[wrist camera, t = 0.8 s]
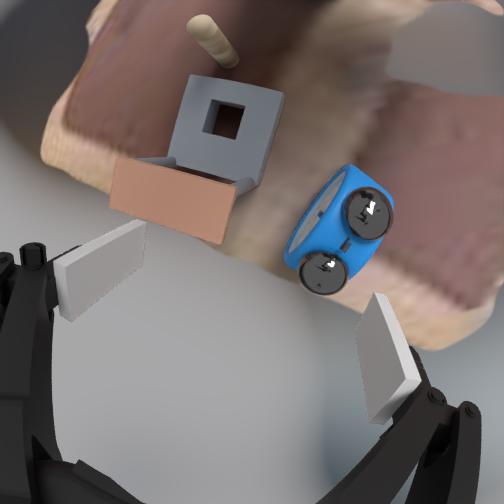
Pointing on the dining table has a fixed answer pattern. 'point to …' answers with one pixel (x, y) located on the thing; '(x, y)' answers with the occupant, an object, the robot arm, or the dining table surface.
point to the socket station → (202, 160)
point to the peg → (212, 40)
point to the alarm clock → (339, 231)
